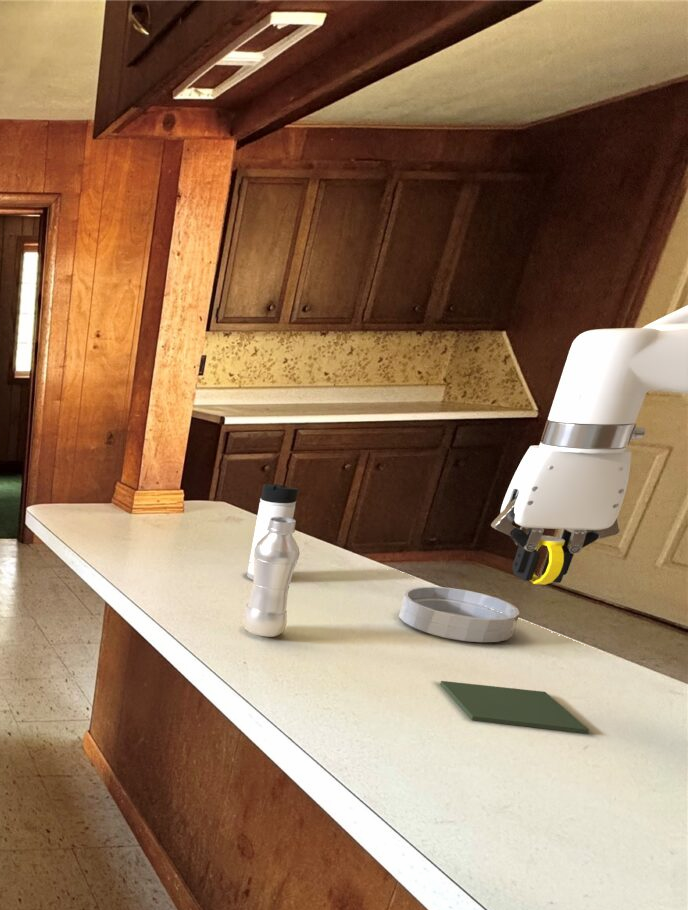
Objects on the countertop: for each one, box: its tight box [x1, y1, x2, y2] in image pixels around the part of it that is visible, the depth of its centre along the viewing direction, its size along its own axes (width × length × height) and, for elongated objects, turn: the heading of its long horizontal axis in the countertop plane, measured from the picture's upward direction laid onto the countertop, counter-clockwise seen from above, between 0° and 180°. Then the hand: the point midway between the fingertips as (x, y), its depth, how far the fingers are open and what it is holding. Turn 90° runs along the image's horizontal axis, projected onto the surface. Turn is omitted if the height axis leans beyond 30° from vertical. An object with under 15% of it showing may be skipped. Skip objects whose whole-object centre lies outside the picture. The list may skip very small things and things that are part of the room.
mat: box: [439, 680, 590, 735], centre depth 89 cm, size 12×10×1 cm
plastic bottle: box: [242, 517, 300, 638], centre depth 110 cm, size 6×7×20 cm
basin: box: [398, 586, 520, 643], centre depth 113 cm, size 15×15×4 cm
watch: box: [529, 534, 565, 586], centre depth 86 cm, size 6×3×6 cm, turn 164°
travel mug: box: [246, 483, 299, 581], centre depth 134 cm, size 6×7×20 cm
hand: (536, 577), depth 87 cm, fingers closed on watch, 2 cm apart
